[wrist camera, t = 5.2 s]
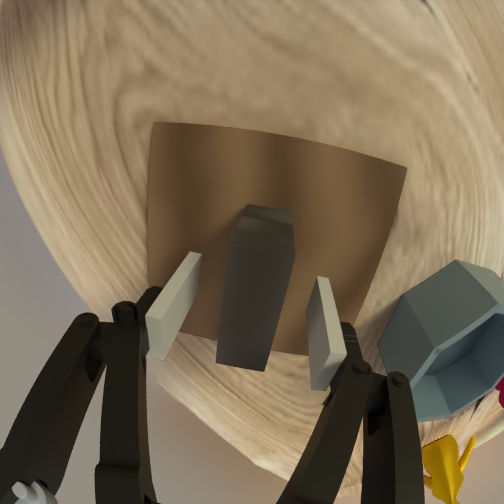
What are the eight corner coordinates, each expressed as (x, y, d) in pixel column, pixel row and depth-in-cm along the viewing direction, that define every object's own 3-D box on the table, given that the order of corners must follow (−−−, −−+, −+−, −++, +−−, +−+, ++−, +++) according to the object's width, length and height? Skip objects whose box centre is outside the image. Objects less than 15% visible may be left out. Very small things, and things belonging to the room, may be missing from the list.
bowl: (360, 372, 25) (371, 426, 19) (421, 250, 19) (464, 297, 13) (452, 372, 25) (470, 413, 18) (511, 275, 18) (546, 311, 12)
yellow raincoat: (399, 462, 38) (408, 542, 18) (395, 454, 35) (406, 544, 15) (471, 429, 32) (492, 505, 13) (475, 416, 30) (500, 501, 10)
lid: (156, 316, 25) (121, 376, 18) (160, 122, 18) (92, 123, 10) (335, 350, 25) (345, 419, 17) (400, 165, 17) (463, 190, 10)
